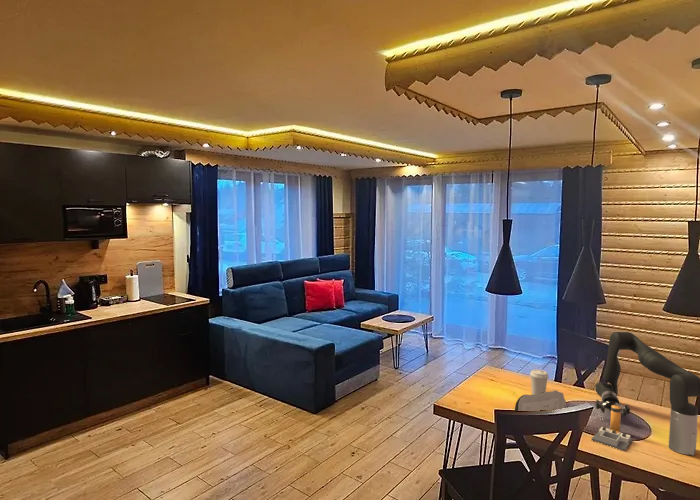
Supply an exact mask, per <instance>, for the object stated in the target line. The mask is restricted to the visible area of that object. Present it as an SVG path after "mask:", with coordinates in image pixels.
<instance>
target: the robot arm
mask: <svg viewBox="0 0 700 500" xmlns="http://www.w3.org/2000/svg"><path fill="white" fill-rule="evenodd" d="M621 350H623V351H631V352H633V353H635V354H636V355H637V357H638V361H639V363H640V364H641V366H643V367H645V368H646V369H647V370H648V371H650V372H652V373H654V374H656V375H658V376H660V377H663V378H668V380H669V379H670V381H669V402H670V419H669V431H668V432H669V434H668V448H669V449H670V450H672V451H673V452H676V453H679V454H681V455H686V456H692V457H694V456H695V454H696V451H697V442H698V441H697V439H698V415H699V409H698V407H697V405H695V404H693V403H691V402H689V397H690V398H691V397H694V398H695V397H700V377H699V376H698V375H697V374H695V373H692V372H691V371H689V370H687V369H685V368H683V367H681V366H680V365H678V364H676V363H675V362H673V361H672V360H670V359H668V358H667V357H666V356H664V355H663V354H661V353H660V352H658V351H657V350H655V349H653V347H650V346H649V345H647V344H646V343H644V342H643V341H642V340H641V339H640V338H638V336H636V335H635V334H633V332H629V331H613V332H612V333H611V334H610V336H609V340H608V351H607V359H606V360H607V361H606V365H605V368H604V372H603V375H602V378H603V380H604V381H605V382H604V381H599V382H598V381H597V383H596V385H595V392H596V394H597V395H598V396H599V397H600V400H601V401H600V400H598V399H596V400H595V409H598V410H599V409H600V412H602V413H603V414H604V413H605V411H610V412H611V406H612V405H617V406H620V407H621V415H622V416H623V417H626V416H628V415H630V414H631V407H629V405H628V404H624V405H622V404H621V403H620V400H619V398H618V395H619V390H618V389H619V388H618V381H619V377H620V374H621V369H622V368H621V367H622V366H621V364H620V361H619V358H618V355H619V352H620V351H621Z"/></svg>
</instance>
